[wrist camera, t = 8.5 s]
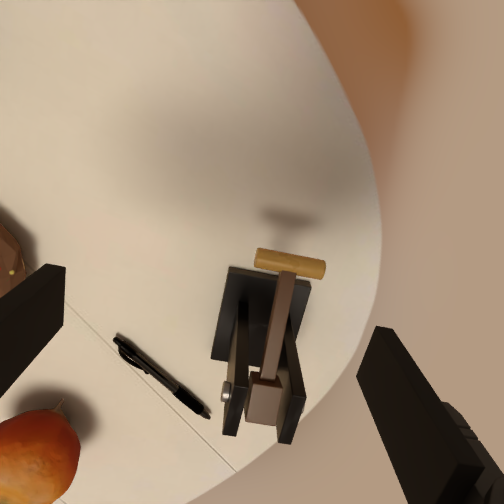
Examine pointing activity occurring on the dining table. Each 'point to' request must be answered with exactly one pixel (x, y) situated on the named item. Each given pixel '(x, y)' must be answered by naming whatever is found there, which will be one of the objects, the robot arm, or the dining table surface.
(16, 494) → the fruit
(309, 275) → the lever
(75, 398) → the dining table surface
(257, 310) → the switch bracket
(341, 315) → the dining table surface
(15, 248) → the donut
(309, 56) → the dining table surface
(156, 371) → the pen
